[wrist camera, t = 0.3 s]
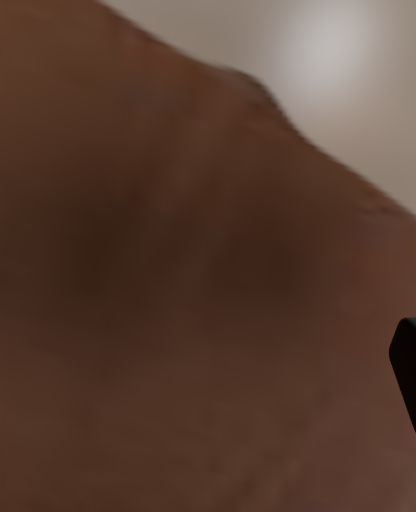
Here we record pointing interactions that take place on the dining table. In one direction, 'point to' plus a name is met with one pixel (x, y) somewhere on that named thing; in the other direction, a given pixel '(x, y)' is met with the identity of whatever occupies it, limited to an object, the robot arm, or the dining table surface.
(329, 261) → the dining table surface
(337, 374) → the dining table surface
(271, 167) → the dining table surface
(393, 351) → the robot arm
